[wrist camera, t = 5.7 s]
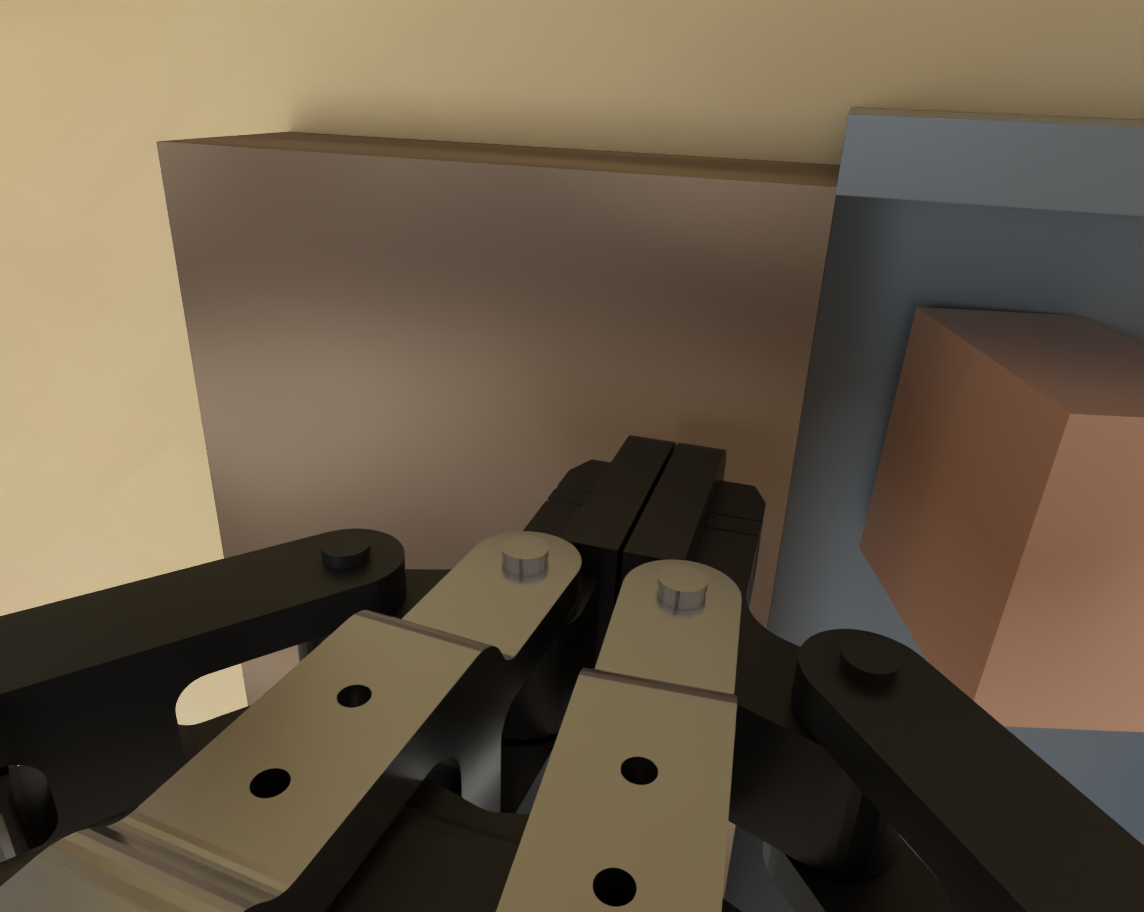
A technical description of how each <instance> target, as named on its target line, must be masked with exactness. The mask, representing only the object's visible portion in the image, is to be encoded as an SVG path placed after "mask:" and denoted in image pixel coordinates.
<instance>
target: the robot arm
mask: <svg viewBox="0 0 1144 912" xmlns="http://www.w3.org/2000/svg"><path fill="white" fill-rule="evenodd" d="M725 466H726V450H725V449H718V448H712V447H705V446H699V445H692V444H686V443H680V442H679V443H678V445H677V444H676V442H672V441H666V440H659V439H653V438H646V437H640V436H634V435H629V436H628V437H627V439H626V440H625V442H624V443H623V445H622V446H621V448H620V449H619V451H618V452H617V454H616V455H615V457H614V458H613V460H612V461H611V462H606V461H600V460H594V459H591V460H589V461H587V462H585V463H583V464H581V465H579V466H577V467H575V468H573V469H571V470H569V471H568V472H567V473H566V475H565V476H564V477H563V479H562V480H561V481H560V483H559V484H558V485H557V489H556V488H555V489H554V491H553V492H552V493H551V494H550V496H549V497H548V501H545V502H544V504H543V505H542V506H541V508H540V509H539V510H538V512H537V513H536V514H535V515H534V517H533V518H532V519H531V521H530V522H529V523H528V525H527V526H526V527H525V529H524V530H523V531H517V532H508V533H503V534H499V535H495V536H492V537H490V538H487V539H485V540H484V541H482V542H480V543H479V544H478V545H476V546H475V547H474V548H473V549H472V550H471V551H470V552H469V553H468V554H467V555H466V556H465V557H464V558H463V559H462V560H461V561H460V562H459V563H458V564H457V565H456V566H455V567H454V568H453V569H405V551H404V548H403V545H402V544H401V543H400V541H398V540H397V539H396V538H395V537H393V536H391V535H389V534H386V533H384V532H380V531H376V530H370V529H357V528H354V529H341V530H335V531H330V532H325V533H322V534H318V535H314V536H310V537H306V538H302V539H298V540H294V541H291V542H287V543H283V544H279V545H275V546H271V547H267V548H263V549H260V550H256V551H252V552H248V553H244V554H240V555H236V556H232V557H229V558H225V559H221V560H217V561H213V562H209V563H205V564H201V565H198V566H194V567H190V568H186V569H182V570H178V571H174V572H170V573H167V574H163V575H159V576H155V577H151V578H147V579H143V580H139V581H135V582H132V583H128V584H124V585H120V586H116V587H112V588H108V589H104V590H101V591H97V592H93V593H89V594H85V595H81V596H77V597H73V598H70V599H66V600H62V601H58V602H54V603H50V604H46V605H42V606H39V607H35V608H31V609H27V610H23V611H19V612H15V613H11V614H8V615H4V616H0V912H742V911H741V910H739V909H738V908H737V907H735V906H734V905H732V904H731V903H729V902H728V901H727V900H725V899H724V898H723V884H724V871H725V858H726V844H727V831H728V821H730V822H731V823H733V824H735V825H736V826H738V827H740V828H742V829H743V830H745V831H747V832H749V833H750V834H752V835H754V836H756V837H757V838H759V839H761V840H762V841H763V857H764V862H765V865H766V867H767V870H768V872H769V873H770V875H771V877H772V879H773V880H774V882H775V883H776V885H777V886H778V888H779V889H780V891H781V892H782V894H783V895H784V897H785V898H786V900H787V901H788V903H789V904H790V906H791V907H792V909H793V910H794V912H1144V845H1143V844H1142V843H1140V842H1139V841H1138V840H1137V839H1136V838H1134V837H1133V836H1132V835H1131V834H1130V833H1129V832H1127V831H1126V830H1125V829H1124V828H1123V827H1122V826H1120V825H1119V824H1118V823H1117V822H1116V821H1114V820H1113V819H1112V818H1111V817H1110V816H1109V815H1107V814H1106V813H1105V812H1104V811H1103V810H1102V809H1100V808H1099V807H1098V806H1097V805H1096V804H1094V803H1093V802H1092V801H1091V800H1090V799H1089V798H1087V797H1086V796H1085V795H1084V794H1083V793H1082V792H1080V791H1079V790H1078V789H1077V788H1076V787H1074V786H1073V785H1072V784H1071V783H1070V782H1069V781H1067V780H1066V779H1065V778H1064V777H1063V776H1062V775H1060V774H1059V773H1058V772H1057V771H1056V770H1054V769H1053V768H1052V767H1051V766H1050V765H1049V764H1047V763H1046V762H1045V761H1044V760H1043V759H1042V758H1040V757H1039V756H1038V755H1037V754H1036V753H1034V752H1033V751H1032V750H1031V749H1030V748H1029V747H1027V746H1026V745H1025V744H1024V743H1023V742H1022V741H1020V740H1019V739H1018V738H1017V737H1016V736H1014V735H1013V734H1012V733H1011V732H1010V731H1009V730H1007V729H1006V728H1005V727H1004V726H1003V725H1002V724H1000V723H999V722H998V721H997V720H996V719H994V718H993V717H992V716H991V715H990V714H989V713H987V712H986V711H985V710H984V709H983V708H982V707H980V706H979V705H978V704H977V703H976V702H974V701H973V700H972V699H971V698H970V697H969V696H967V695H966V694H965V693H964V692H963V691H962V690H960V689H959V688H958V687H957V686H956V685H954V684H953V683H952V682H951V681H950V680H949V679H947V678H946V677H945V676H944V675H943V674H942V673H940V672H939V671H938V670H937V669H936V668H934V667H933V666H932V665H931V664H930V663H929V662H927V661H926V660H925V659H924V658H923V657H922V656H920V655H919V654H918V653H916V652H915V651H914V650H912V649H911V648H909V647H907V646H905V645H904V644H902V643H900V642H898V641H896V640H894V639H891V638H888V637H886V636H883V635H880V634H876V633H873V632H869V631H863V630H857V629H833V630H826V631H823V632H819V633H817V634H815V635H813V636H811V637H809V638H808V639H807V640H806V641H804V643H803V644H802V646H801V647H800V646H798V645H795V644H793V643H791V642H789V641H787V640H784V639H782V638H780V637H778V636H777V635H775V634H774V633H772V632H770V631H769V630H768V629H766V628H765V627H764V626H762V625H761V624H760V623H759V622H758V621H757V620H756V619H755V618H754V616H753V615H752V613H751V612H750V610H749V606H750V602H751V597H752V592H753V586H754V579H755V573H756V566H757V560H758V553H759V547H760V540H761V534H762V527H763V520H764V514H765V507H766V503H765V501H764V499H763V498H762V496H761V495H760V493H759V491H758V490H757V488H756V487H755V486H752V485H746V484H740V483H734V482H728V481H724V474H725ZM296 645H297V646H298V654H299V663H298V664H297V665H296V666H295V667H294V668H293V669H292V670H291V671H289V672H288V673H287V674H286V675H285V676H284V677H283V678H282V679H280V680H279V681H278V682H277V683H276V684H275V685H274V686H273V687H272V688H270V689H269V690H268V691H267V692H266V693H265V694H264V695H263V696H261V697H260V698H259V699H258V700H257V701H256V702H255V703H254V704H253V705H250V706H247V707H245V708H242V709H239V710H236V711H233V712H230V713H228V714H225V715H222V716H219V717H216V718H214V719H211V720H208V721H205V722H202V723H199V724H196V725H179V724H178V723H177V718H176V712H175V708H176V703H177V700H178V698H179V696H180V694H181V693H182V691H183V690H184V689H185V688H186V687H187V686H188V685H189V684H190V683H192V682H193V681H194V680H196V679H198V678H200V677H202V676H204V675H207V674H210V673H213V672H216V671H219V670H222V669H225V668H228V667H231V666H234V665H237V664H240V663H243V662H246V661H250V660H253V659H256V658H259V657H262V656H265V655H268V654H271V653H274V652H277V651H280V650H283V649H286V648H289V647H293V646H296ZM17 765H20V766H17ZM900 835H901V837H902V838H903V839H904V840H905V841H906V842H907V843H908V845H909V846H910V847H911V848H912V849H913V850H914V851H915V853H916V854H917V855H918V856H919V857H920V858H921V859H922V861H923V862H924V863H925V864H926V865H927V866H928V867H929V869H930V870H931V871H932V872H933V873H934V874H933V873H932V872H931V871H930V870H929V869H928V867H927V866H926V865H925V864H924V863H923V862H922V861H921V859H920V858H919V857H918V856H917V855H916V854H915V853H914V851H913V850H912V849H911V848H910V847H909V846H908V845H907V843H906V842H905V841H904V840H903V839H902V838H901V837H900ZM935 876H936V877H937V878H936V877H935Z"/></svg>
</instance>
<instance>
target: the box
mask: <svg viewBox="0 0 1144 912" xmlns="http://www.w3.org/2000/svg"><path fill="white" fill-rule="evenodd" d="M836 195H837V197H836V203H835V210H834V216H833V222H832V228H831V235H830V241H829V247H828V253H827V260H826V266H825V272H824V278H823V285H822V291H821V297H820V304H819V310H818V316H817V322H816V329H815V335H814V341H813V347H812V354H811V360H810V366H809V372H808V379H807V385H806V391H805V397H804V404H803V410H802V416H801V422H800V429H799V435H798V441H797V447H796V454H795V460H794V466H793V472H792V479H791V485H790V491H789V498H788V504H787V510H786V516H785V523H784V529H783V535H782V541H781V548H780V554H779V560H778V566H777V573H776V579H775V585H774V591H773V598H772V604H771V610H770V616H769V623H768V630H769V631H770V632H772V633H774V634H775V635H777V636H778V637H780V638H782V639H784V640H787V641H789V642H791V643H793V644H795V645H798V646H800V647H801V646H802V644H803V643H804V641H806V640H807V639H808V638H809V637H811V636H813V635H815V634H817V633H819V632H823V631H826V630H833V629H857V630H863V631H869V632H873V633H876V634H880V635H883V636H886V637H888V638H891V639H894V640H896V641H898V642H900V643H902V644H904V645H905V646H907V647H909V648H911V649H912V650H914V651H915V652H916V653H918V654H919V655H920V656H922V657H923V658H924V659H925V660H926V658H925V657H924V655H923V653H922V652H921V650H920V648H919V647H918V645H917V643H916V642H915V640H914V638H913V637H912V635H911V633H910V632H909V630H908V628H907V627H906V625H905V623H904V622H903V620H902V618H901V617H900V615H899V613H898V611H897V610H896V608H895V606H894V605H893V603H892V601H891V600H890V598H889V596H888V595H887V593H886V591H885V590H884V588H883V586H882V585H881V583H880V581H879V580H878V578H877V576H876V575H875V573H874V571H873V570H872V568H871V566H870V565H869V563H868V561H867V560H866V558H865V556H864V555H863V553H862V551H861V550H860V548H859V547H860V543H861V539H862V534H863V530H864V526H865V522H866V518H867V513H868V509H869V505H870V501H871V497H872V492H873V488H874V484H875V480H876V475H877V471H878V467H879V463H880V459H881V454H882V450H883V446H884V442H885V438H886V433H887V429H888V425H889V421H890V417H891V412H892V408H893V404H894V400H895V395H896V391H897V387H898V383H899V379H900V374H901V370H902V366H903V362H904V358H905V353H906V349H907V345H908V341H909V336H910V332H911V328H912V324H913V320H914V315H915V311H916V307H929V308H947V309H965V310H983V311H1001V312H1020V313H1038V314H1056V315H1074V316H1084V317H1086V318H1088V319H1090V320H1092V321H1094V322H1096V323H1098V324H1100V325H1102V326H1104V327H1106V328H1108V329H1110V330H1112V331H1114V332H1116V333H1118V334H1120V335H1123V336H1125V337H1127V338H1129V339H1131V340H1133V341H1135V342H1137V343H1139V344H1141V345H1143V346H1144V120H1135V119H1112V118H1088V117H1065V116H1041V115H1018V114H994V113H971V112H948V111H924V110H901V109H877V108H854V107H851V109H850V111H849V114H848V120H847V126H846V132H845V139H844V145H843V151H842V157H841V164H840V170H839V176H838V183H837V189H836ZM926 661H927V660H926ZM1004 727H1005V728H1006V729H1007V730H1009V731H1010V732H1011V733H1012V734H1013V735H1014V736H1016V737H1017V738H1018V739H1019V740H1020V741H1022V742H1023V743H1024V744H1025V745H1026V746H1027V747H1029V748H1030V749H1031V750H1032V751H1033V752H1034V753H1036V754H1037V755H1038V756H1039V757H1040V758H1042V759H1043V760H1044V761H1045V762H1046V763H1047V764H1049V765H1050V766H1051V767H1052V768H1053V769H1054V770H1056V771H1057V772H1058V773H1059V774H1060V775H1062V776H1063V777H1064V778H1065V779H1066V780H1067V781H1069V782H1070V783H1071V784H1072V785H1073V786H1074V787H1076V788H1077V789H1078V790H1079V791H1080V792H1082V793H1083V794H1084V795H1085V796H1086V797H1087V798H1089V799H1090V800H1091V801H1092V802H1093V803H1094V804H1096V805H1097V806H1098V807H1099V808H1100V809H1102V810H1103V811H1104V812H1105V813H1106V814H1107V815H1109V816H1110V817H1111V818H1112V819H1113V820H1114V821H1116V822H1117V823H1118V824H1119V825H1120V826H1122V827H1123V828H1124V829H1125V830H1126V831H1127V832H1129V833H1130V834H1131V835H1132V836H1133V837H1134V838H1136V839H1137V840H1138V841H1139V842H1140V843H1142V844H1143V845H1144V732H1126V731H1102V730H1078V729H1054V728H1030V727H1007V726H1004ZM900 837H901V835H900ZM901 838H902V837H901ZM902 839H903V838H902ZM903 840H904V839H903ZM904 841H905V840H904ZM905 842H906V841H905ZM906 843H907V842H906ZM907 845H908V843H907ZM908 846H909V845H908ZM909 847H910V846H909ZM910 848H911V847H910ZM911 849H912V848H911ZM912 850H913V849H912ZM913 851H914V850H913ZM914 853H915V851H914ZM915 854H916V853H915ZM916 855H917V854H916ZM917 856H918V855H917ZM918 857H919V856H918ZM919 858H920V857H919ZM920 859H921V858H920ZM921 861H922V859H921ZM922 862H923V861H922ZM923 863H924V862H923ZM924 864H925V863H924ZM925 865H926V864H925ZM926 866H927V865H926ZM927 867H928V866H927ZM928 869H929V867H928ZM929 870H930V869H929ZM930 871H931V870H930ZM931 872H932V871H931ZM932 873H933V872H932ZM933 874H934V873H933ZM935 877H936V876H935ZM936 878H937V877H936ZM724 899H725V900H727V901H728V902H729V903H731V904H732V905H734V906H735V907H737V908H738V909H739V910H741V911H742V912H794V910H793V909H792V907H791V906H790V904H789V903H788V901H787V900H786V898H785V897H784V895H783V894H782V892H781V891H780V889H779V888H778V886H777V885H776V883H775V882H774V880H773V879H772V877H771V875H770V873H769V872H768V870H767V867H766V865H765V862H764V857H763V841H762V840H761V839H759V838H757V837H756V836H754V835H752V834H750V833H749V832H747V831H745V830H743V829H742V828H740V827H738V826H736V829H735V835H734V841H733V847H732V853H731V859H730V865H729V871H728V877H727V883H726V889H725V895H724Z"/></svg>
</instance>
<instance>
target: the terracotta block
mask: <svg viewBox="0 0 1144 912" xmlns="http://www.w3.org/2000/svg"><path fill="white" fill-rule="evenodd" d="M859 548H860V550H861V551H862V553H863V555H864V556H865V558H866V560H867V561H868V563H869V565H870V566H871V568H872V570H873V571H874V573H875V575H876V576H877V578H878V580H879V581H880V583H881V585H882V586H883V588H884V590H885V591H886V593H887V595H888V596H889V598H890V600H891V601H892V603H893V605H894V606H895V608H896V610H897V611H898V613H899V615H900V617H901V618H902V620H903V622H904V623H905V625H906V627H907V628H908V630H909V632H910V633H911V635H912V637H913V638H914V640H915V642H916V643H917V645H918V647H919V648H920V650H921V652H922V653H923V655H924V657H925V658H926V660H927V662H929V663H930V664H931V665H932V666H933V667H934V668H936V669H937V670H938V671H939V672H940V673H942V674H943V675H944V676H945V677H946V678H947V679H949V680H950V681H951V682H952V683H953V684H954V685H956V686H957V687H958V688H959V689H960V690H962V691H963V692H964V693H965V694H966V695H967V696H969V697H970V698H971V699H972V700H973V701H974V702H976V703H977V704H978V705H979V706H980V707H982V708H983V709H984V710H985V711H986V712H987V713H989V714H990V715H991V716H992V717H993V718H994V719H996V720H997V721H998V722H999V723H1000V724H1002V725H1003V726H1007V727H1030V728H1054V729H1078V730H1102V731H1126V732H1144V346H1143V345H1141V344H1139V343H1137V342H1135V341H1133V340H1131V339H1129V338H1127V337H1125V336H1123V335H1120V334H1118V333H1116V332H1114V331H1112V330H1110V329H1108V328H1106V327H1104V326H1102V325H1100V324H1098V323H1096V322H1094V321H1092V320H1090V319H1088V318H1086V317H1084V316H1074V315H1056V314H1038V313H1020V312H1001V311H983V310H965V309H947V308H929V307H916V311H915V315H914V320H913V324H912V328H911V332H910V336H909V341H908V345H907V349H906V353H905V358H904V362H903V366H902V370H901V374H900V379H899V383H898V387H897V391H896V395H895V400H894V404H893V408H892V412H891V417H890V421H889V425H888V429H887V433H886V438H885V442H884V446H883V450H882V454H881V459H880V463H879V467H878V471H877V475H876V480H875V484H874V488H873V492H872V497H871V501H870V505H869V509H868V513H867V518H866V522H865V526H864V530H863V534H862V539H861V543H860V547H859Z"/></svg>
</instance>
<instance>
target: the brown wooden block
mask: <svg viewBox="0 0 1144 912" xmlns="http://www.w3.org/2000/svg"><path fill="white" fill-rule="evenodd" d="M157 148H158V154H159V160H160V167H161V173H162V179H163V185H164V191H165V197H166V203H167V210H168V216H169V222H170V228H171V234H172V240H173V247H174V253H175V259H176V265H177V271H178V277H179V283H180V290H181V296H182V302H183V308H184V314H185V320H186V326H187V333H188V339H189V345H190V351H191V357H192V363H193V370H194V376H195V382H196V388H197V394H198V400H199V406H200V413H201V419H202V425H203V431H204V437H205V443H206V449H207V456H208V462H209V468H210V474H211V480H212V486H213V493H214V499H215V505H216V511H217V517H218V523H219V529H220V536H221V542H222V548H223V554H224V559H225V558H229V557H232V556H236V555H240V554H244V553H248V552H252V551H256V550H260V549H263V548H267V547H271V546H275V545H279V544H283V543H287V542H291V541H294V540H298V539H302V538H306V537H310V536H314V535H318V534H322V533H325V532H330V531H335V530H341V529H354V528H357V529H370V530H376V531H380V532H384V533H386V534H389V535H391V536H393V537H395V538H396V539H397V540H398V541H400V543H401V544H402V545H403V548H404V551H405V569H453V568H454V567H455V566H456V565H457V564H458V563H459V562H460V561H461V560H462V559H463V558H464V557H465V556H466V555H467V554H468V553H469V552H470V551H471V550H472V549H473V548H474V547H475V546H476V545H478V544H479V543H480V542H482V541H484V540H485V539H487V538H490V537H492V536H495V535H499V534H503V533H508V532H517V531H523V530H524V529H525V527H526V526H527V525H528V523H529V522H530V521H531V519H532V518H533V517H534V515H535V514H536V513H537V512H538V510H539V509H540V508H541V506H542V505H543V504H544V502H545V501H548V497H549V496H550V494H551V493H552V492H553V491H554V489H555V488H556V489H557V485H558V484H559V483H560V481H561V480H562V479H563V477H564V476H565V475H566V473H567V472H568V471H569V470H571V469H573V468H575V467H577V466H579V465H581V464H583V463H585V462H587V461H589V460H591V459H594V460H600V461H606V462H611V461H612V460H613V458H614V457H615V455H616V454H617V452H618V451H619V449H620V448H621V446H622V445H623V443H624V442H625V440H626V439H627V437H628V436H629V435H634V436H640V437H646V438H653V439H659V440H666V441H672V442H676V444H677V445H678V443H679V442H680V443H686V444H692V445H699V446H705V447H712V448H718V449H725V450H726V466H725V474H724V481H728V482H734V483H740V484H746V485H752V486H755V487H756V488H757V490H758V491H759V493H760V495H761V496H762V498H763V499H764V501H765V503H766V507H765V514H764V520H763V527H762V534H761V540H760V547H759V553H758V560H757V566H756V573H755V579H754V586H753V592H752V597H751V602H750V606H749V610H750V612H751V613H752V615H753V616H754V618H755V619H756V620H757V621H758V622H759V623H760V624H761V625H762V626H764V627H765V628H766V629H768V623H769V616H770V610H771V604H772V598H773V591H774V585H775V579H776V573H777V566H778V560H779V554H780V548H781V541H782V535H783V529H784V523H785V516H786V510H787V504H788V498H789V491H790V485H791V479H792V472H793V466H794V460H795V454H796V447H797V441H798V435H799V429H800V422H801V416H802V410H803V404H804V397H805V391H806V385H807V379H808V372H809V366H810V360H811V354H812V347H813V341H814V335H815V329H816V322H817V316H818V310H819V304H820V297H821V291H822V285H823V278H824V272H825V266H826V260H827V253H828V247H829V241H830V235H831V228H832V222H833V216H834V210H835V203H836V197H837V195H836V189H837V183H838V176H839V170H840V165H829V164H812V163H795V162H779V161H762V160H746V159H729V158H712V157H696V156H679V155H663V154H646V153H630V152H613V151H596V150H580V149H563V148H547V147H530V146H513V145H497V144H480V143H464V142H447V141H431V140H414V139H397V138H381V137H364V136H348V135H331V134H315V133H298V132H279V133H266V134H252V135H239V136H225V137H211V138H198V139H184V140H170V141H157ZM298 663H299V654H298V646H297V645H296V646H293V647H289V648H286V649H283V650H280V651H277V652H274V653H271V654H268V655H265V656H262V657H259V658H256V659H253V660H250V661H246V662H243V663H241V665H242V671H243V677H244V683H245V689H246V695H247V702H248V706H250V705H253V704H254V703H255V702H256V701H257V700H258V699H259V698H260V697H261V696H263V695H264V694H265V693H266V692H267V691H268V690H269V689H270V688H272V687H273V686H274V685H275V684H276V683H277V682H278V681H279V680H280V679H282V678H283V677H284V676H285V675H286V674H287V673H288V672H289V671H291V670H292V669H293V668H294V667H295V666H296V665H297V664H298ZM735 829H736V825H735V824H733V823H731V822H730V821H728V831H727V844H726V858H725V871H724V884H723V898H724V895H725V889H726V883H727V877H728V871H729V865H730V859H731V853H732V847H733V841H734V835H735Z"/></svg>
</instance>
